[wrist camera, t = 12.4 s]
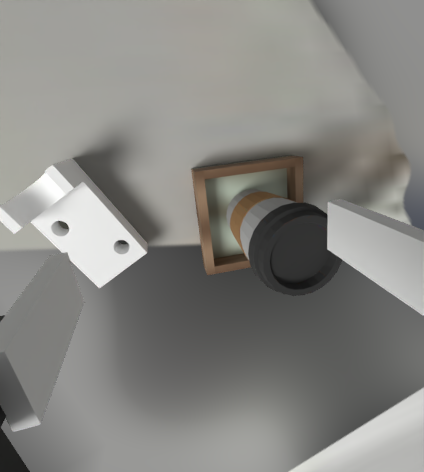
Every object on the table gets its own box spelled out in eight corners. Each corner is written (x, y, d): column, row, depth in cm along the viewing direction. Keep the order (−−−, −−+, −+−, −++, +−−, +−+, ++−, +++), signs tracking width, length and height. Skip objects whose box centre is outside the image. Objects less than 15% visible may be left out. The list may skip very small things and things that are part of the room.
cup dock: (191, 168, 36) (194, 171, 34) (292, 155, 38) (303, 157, 35) (203, 265, 41) (207, 275, 38) (293, 249, 43) (303, 257, 40)
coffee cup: (290, 218, 40) (363, 264, 26) (239, 254, 41) (286, 318, 27) (259, 167, 37) (325, 187, 23) (205, 206, 38) (237, 249, 24)
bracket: (23, 195, 34) (-10, 212, 27) (72, 158, 34) (52, 164, 27) (103, 275, 39) (93, 306, 32) (147, 242, 39) (146, 267, 32)
